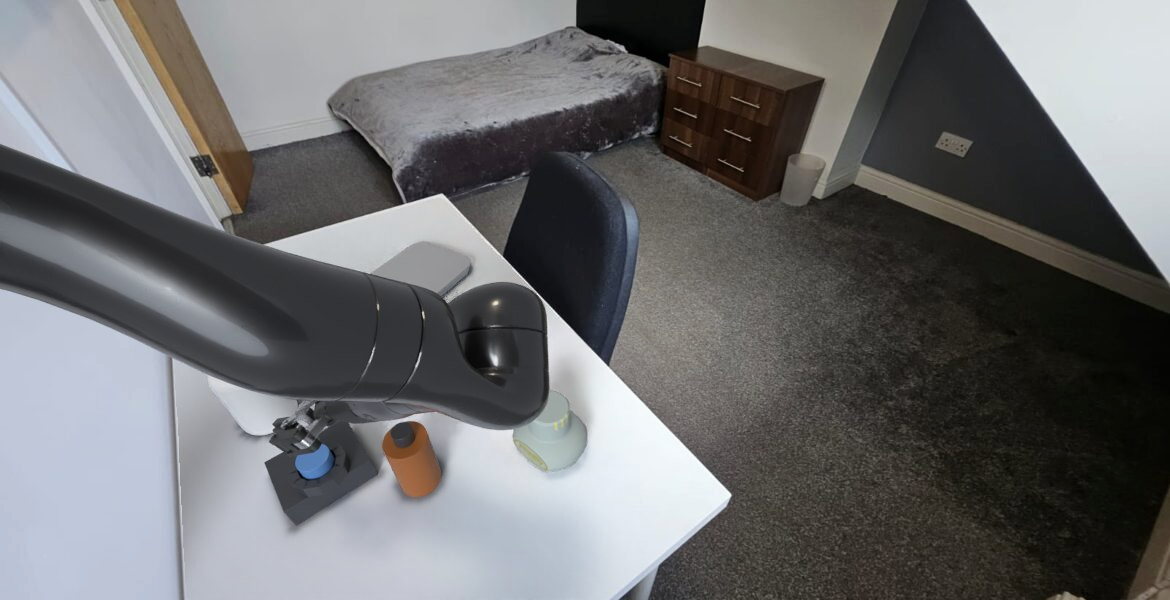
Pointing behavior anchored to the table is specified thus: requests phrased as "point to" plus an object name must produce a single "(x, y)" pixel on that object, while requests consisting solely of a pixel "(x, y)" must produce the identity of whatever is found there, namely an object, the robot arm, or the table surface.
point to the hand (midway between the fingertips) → (309, 396)
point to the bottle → (412, 458)
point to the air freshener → (552, 436)
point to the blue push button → (315, 463)
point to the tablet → (426, 267)
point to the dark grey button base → (316, 494)
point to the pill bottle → (252, 406)
